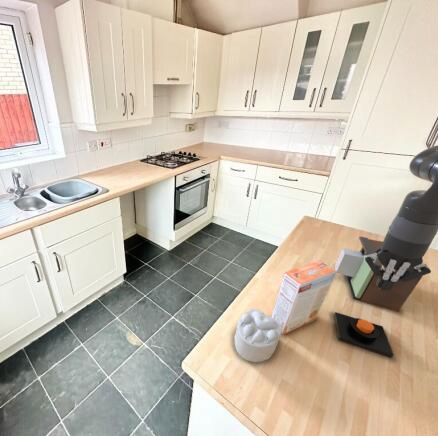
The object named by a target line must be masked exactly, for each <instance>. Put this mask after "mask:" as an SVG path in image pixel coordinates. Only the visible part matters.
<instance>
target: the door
mask: <svg viewBox="0 0 438 436" xmlns="http://www.w3.org/2000/svg"><path fill="white" fill-rule="evenodd" d="M334 270H336V271H337V272H336V274H340V275H342V276H343V275H344V276H346V275H347V276H351V277H352V279H351V284H352V287H353V290H354V293H355V297H356V298H360V297H361V295H362V294H363V292H364V290H365V288H366V287H367V285H368V283H369V281H370V279H371V278H372V276H373V274H374V273H373V271H372V270H371V268H370V267H369V265H368V264H367V262H366V260H365V258H364V256H363V255H362V253H361V252H360V250H359V251H358V250H354V249H350V248H345V247H342V249H341V252H340V254H339V256H338V258H337V259H336V262H335V264H334Z"/></svg>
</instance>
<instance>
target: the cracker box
mask: <svg viewBox="0 0 438 436" xmlns="http://www.w3.org/2000/svg"><path fill="white" fill-rule="evenodd" d="M336 272H337V271H336V270H335V268H332V267H331V266H329V265H328V264H325V263H324V262H322V261H321V260H315V261H313V262H309V263H307V264H304V265H302V266H298V267H296V268H293V269H289V270H287V271H284V272H283V275H282V279H281V282H280V284H279V288H278V292H277V295H276V298H275V301H274V305H273V308H272V311H271V316H270V317H271V318H273V319H275V320H277V321H278V322H279V323H280V325H281V327H282V333H281V334H283V335H285V334H288V333H290V332H292V331H294V330H297V329H299V328H301V327H303V326H306V325H308V324H310V323H312V322H314V321H316V320H317V317H318V315H319V313H320V310H321V308H322V306H323V304H324V301H325V300H326V297H327V294H328V292H329V291H330V288H331V285H332V283H333V281H334V279H335V277H336V274H337V273H336Z"/></svg>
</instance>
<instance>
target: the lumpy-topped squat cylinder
mask: <svg viewBox="0 0 438 436" xmlns="http://www.w3.org/2000/svg"><path fill="white" fill-rule="evenodd" d="M282 334H283V333H282V327H281V325H280V323H279V322H278V321H277V320H275V319H273V318H271V316H269V315H267V314H266V313H265V312H264V311H262V310H261V309H258V308H251V309H248V310H247V311H246V312H245V313H244V314H242V316H241V317H240V318H239V320H238V322H237V326H236V330H235V334H234V347H235V349H236V352H237V353H238V355H239V356H240V357H241V358H242V359H244V360H246V361H248V362H252V363H261V362H265V361H267V360H269V359H270V358H271V357H272V356H273V355H274V352H275V351H276V348H277V346H278V343H279V341H280V339H281V336H282Z"/></svg>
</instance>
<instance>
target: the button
mask: <svg viewBox="0 0 438 436" xmlns="http://www.w3.org/2000/svg"><path fill="white" fill-rule="evenodd" d="M360 319H361V320H359V321H358V322H357V324H356V326H357V328H358V329H359V330H361V331H362V332H364V333H367V334H370V333H372V331H373V330H374V326H373V325H372V324H371V323H372V322H370V321H368V320H367V319H363V320H362V318H360Z"/></svg>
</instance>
